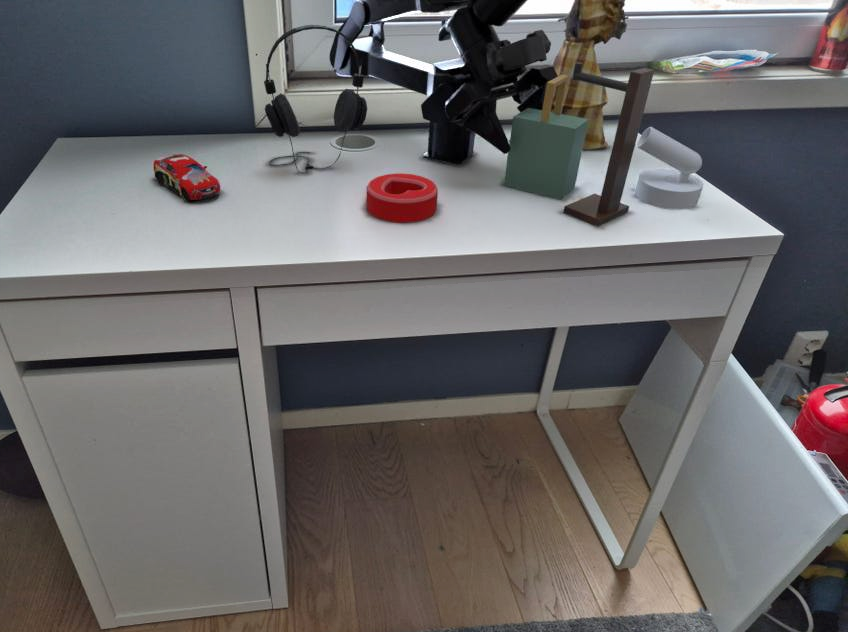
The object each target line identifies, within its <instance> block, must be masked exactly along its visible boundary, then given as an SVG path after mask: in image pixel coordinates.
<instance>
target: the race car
mask: <svg viewBox="0 0 848 632" xmlns="http://www.w3.org/2000/svg"><path fill="white" fill-rule="evenodd" d="M207 169H208V166H207V165H204V166H203V165H202V164H201V163H200V162H199V161H197V160H196V159H194V158H193V157H191V156H189V155H187V154H182V153H179V154H169V155H165V156H161V157H157V158H155V159H154V161H153V173H154V174H153V175H154V177H155V179H156V180H157V182H158V183H159V184H160V185H161V186H163V185H164V186H166V187H167V188H169V189H170V190H172V191H173V192H175V193H177V194H178V195H180V196H181V197H183V199H184V200H185V202H190V201H198V200H205V199H209V198H212V197H215V196H217V195H218V194H220V193H221V183H220V181H219V180H218V178H216V177H215V176H214V175H213V174H212V173H210V172H209V171H208V170H207Z"/></svg>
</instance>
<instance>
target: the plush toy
mask: <svg viewBox="0 0 848 632" xmlns="http://www.w3.org/2000/svg"><path fill="white" fill-rule="evenodd" d="M625 2H626V0H573V3H572V6H571V9H570V11H568V14H567V15H566V16H564V17H561V18H559V19H557V22H558V23H560V22H561V21H562V22H563V24H564V25H565V29H564V30H563V32H564V34H565V35H564V37H565V38H564V39H563V42H562V44H561V45H560V47H559V49H558V51H557V53H556V55H555V57H554V59H553V61H552V62H551V64H550V66H553V67H554V69H555V71H556V73H557V75H558V76H560V75H567V76H568V80H567V86H566V91H565V97H564V102H563V108H562V113H561V114H564V115H569V116H574V117H580V118H585V119H589V122H588V126H587V131H586V136H585V141H584V145H583V150H582V151H584V150H593V149H601V148H606V147H607V146H608V145H609V143H608V142H607V140H606V136H605V131H604V116H603V115H604V112H603V108H604V106H606V105H608V102H609V98H608V93H607V88H606V87H604V86H600V85H595V84H591V83H587V82H583V81H579V80H572V75H573V70H574V65H575V62H581V63H583V66H582V71H581V72H583V73H588V74H592V75H596V76H600V77H603V75H602V73H601V69H600V66H599V63H598V60H597V56H596V55H597V54H596V51H595V46H596V45H598V44H600V43H603V44H604V45H606V44H607V43H609V41H610V40H611V39H613V38H615V39H617V40H618V41H619V40H621V38H622V35H624V33H626V31H627V27H628V24H627V23H626V20H628V19H630V18H629V16H626V14H625V13H626V12H625V9H624V7H625V6H626V4H625ZM557 90H558V86H556V87H555V89H554V95H553V101H552V106H551V112H554V107H555V101H556V95H557Z"/></svg>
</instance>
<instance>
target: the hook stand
mask: <svg viewBox="0 0 848 632" xmlns="http://www.w3.org/2000/svg"><path fill="white" fill-rule="evenodd" d="M582 66H583V63H581V62H575V65H574V70H573V75H572V80H579V81H583V82H587V83H591V84H595V85H600V86H604V87H605V88H608V89H612V90H616V91H620V92H625V93H624V97H623V102H622V106H621V110H620V114H619V118H618V123H617V127H616V131H615V136H614V139H613V144H612V148H611V152H610V155H609V161H608V165H607V169H606V173H605V177H604V178H605V179H604V180H603V185H602V190H601V193H600V194H597V193H592V194H590V195H587V196H585V197H583V198H580V199H578V200H576V201H573V202H571V203H569V204H566V205H564V207H563V212H562V213H563V214H565V215H568V216H570V217H573V218H575V219H578V220H580V221H583V222H585V223H588V224H590V225H593V226H596V227H597V228H598V227H600V226H603V225H605V224H607V223H609V222H611V221H613V220H616V219H617V218H620V217H622V216H624V215H626V214H628V213H629V210H630V205H627V204H625V203H621V201H622V197H623V193H624V190H625V189H624V188H625V185H626V181H627V178H628V174H629V170H630V167H631V162H632V158H633V154H634V151H635V147H636V144H637V143H636V142H637V140H638V135H639V131H640V128H641V124H642V120H643V116H644V113H645V108H646V105H647V100H648V97H649V93H650V89H651V85H652V81H653V78H654V73H655V69H651V68H647V67H642V68H639V69H635V70H631V71H630V73H629V77H628V80H627V81H626V82H625V81H622V80H617V79H612V78H608V77H605V76H602V77H600V76H596V75H592V74H588V73H583V72H581V71H582Z"/></svg>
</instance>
